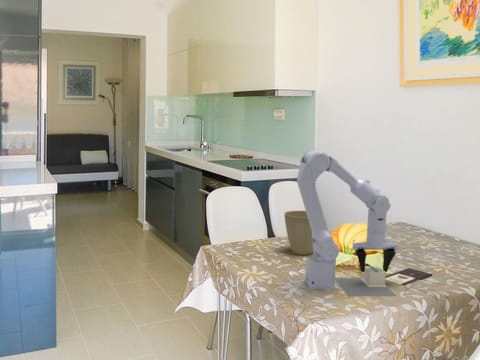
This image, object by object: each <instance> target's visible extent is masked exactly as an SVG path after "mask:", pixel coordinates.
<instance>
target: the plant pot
mask: <svg viewBox="0 0 480 360" xmlns="http://www.w3.org/2000/svg"><path fill="white" fill-rule="evenodd" d="M283 214H284V221H285V230H286V234H287V238H288V243H289V246H290V249H291V252H292V253H293V254H295V255H298V256H299V255H301V256H307V255H310V254H312V251H313V249H312V229H311V226H310V223H309V219H308V216H307V213H306V210H289V211H285V212H284V213H283Z"/></svg>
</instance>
